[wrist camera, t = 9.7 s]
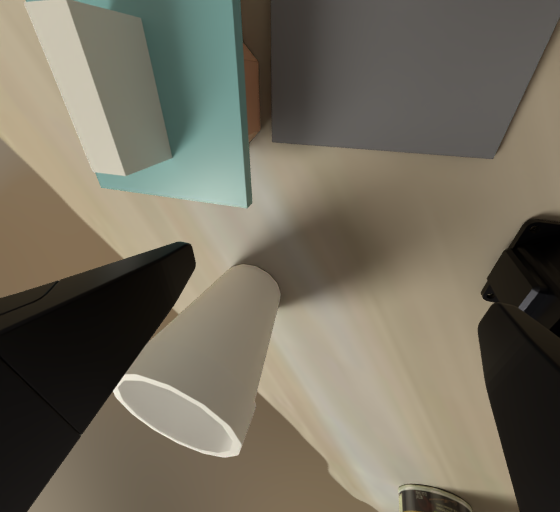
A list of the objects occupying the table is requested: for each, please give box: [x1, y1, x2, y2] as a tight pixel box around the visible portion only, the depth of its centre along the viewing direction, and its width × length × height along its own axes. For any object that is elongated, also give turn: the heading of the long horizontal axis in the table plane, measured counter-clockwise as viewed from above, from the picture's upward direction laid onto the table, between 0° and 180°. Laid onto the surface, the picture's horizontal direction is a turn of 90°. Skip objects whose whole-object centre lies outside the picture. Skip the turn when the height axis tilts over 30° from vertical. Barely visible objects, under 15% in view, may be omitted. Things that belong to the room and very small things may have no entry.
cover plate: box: [24, 0, 252, 208], centre depth 12 cm, size 11×11×4 cm
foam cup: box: [113, 264, 281, 458], centre depth 22 cm, size 10×9×13 cm
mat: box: [271, 0, 560, 159], centre depth 12 cm, size 13×13×1 cm
